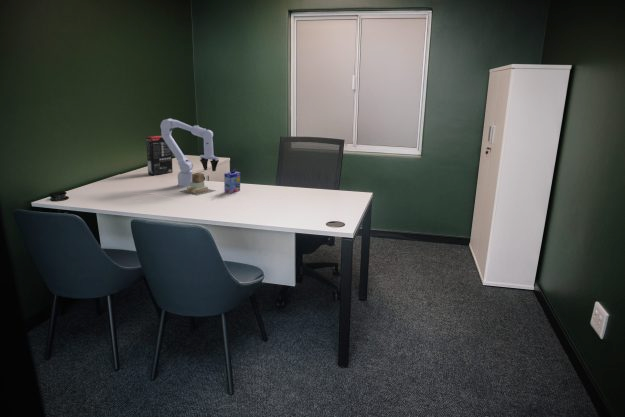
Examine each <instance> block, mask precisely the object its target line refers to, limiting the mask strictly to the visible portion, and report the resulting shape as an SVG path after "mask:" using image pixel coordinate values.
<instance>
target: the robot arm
mask: <svg viewBox="0 0 625 417" xmlns="http://www.w3.org/2000/svg"><path fill="white" fill-rule="evenodd" d="M175 128H180V129H182V130H185V131H189V132H191V134H192V135H193V136H197V137H199V138H202V139H203V153H204V154H200V155H199V158H200V159H199V161H200V163H201V164H202V168H203V170H204V171H206V170H207V171H208V164H209V163H208V162H209V161H210V165H211V170H212V172H216V171H217V166H218V164H219V160H220V159H219V157H218V156H215V154H214V142H213V137H214V132H213V131H212V130H210V129H207V128H203V127H200V125H198V124H197V125H193V126H192V125H190V124H187V123H185V122H182V121H180V120H178V119H173V118H167V119H163V120H162V121H161V122H160V130H161V132H160V134H161V136H162V138H163V139H164V141H165V142H166V144H167V145H168V147H169V148H170V150H171V151H172V155H173V156H174V158H176V160H177V164H178V166H179V169H180V171H179V172H178V174H177V186H180V187H184V188H187V187H190V182H192V174H194V173H193V167H194V163H193V162H192V161H190V160H189V158H188V157H186V156H185V154H184V153H183V152H182V150H181V148H180V147H179V145H178V144H177V142H176V141H175V139H174V138H173V135H172V132H173V129H175Z"/></svg>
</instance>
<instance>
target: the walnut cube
mask: <svg viewBox="0 0 625 417" xmlns="http://www.w3.org/2000/svg"><path fill="white" fill-rule="evenodd" d="M204 176H205V174H204V173H199V172H196V173H193V174H192V182H194V183H201V182H204V183H205V177H204Z"/></svg>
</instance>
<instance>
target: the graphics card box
mask: <svg viewBox="0 0 625 417" xmlns="http://www.w3.org/2000/svg"><path fill="white" fill-rule="evenodd" d="M145 138H146V139H145V140H146V156H147V157H146V158H147V160H146V162H147V174H148V175H151V176H157V175H163V174H172V173H173V171H174V170H173V153H172V151H171V150H170V148H169V147H168V145H167V144H166V142H165V141H164V139H163V138H162V135H155V136H153V135H152V136H146V137H145Z"/></svg>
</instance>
